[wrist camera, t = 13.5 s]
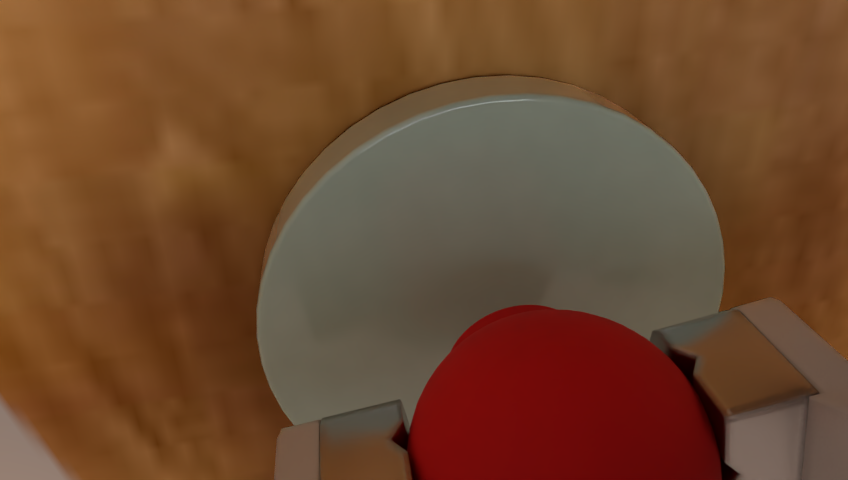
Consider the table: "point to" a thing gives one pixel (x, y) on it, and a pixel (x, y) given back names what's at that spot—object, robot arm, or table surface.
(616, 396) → the strawberry
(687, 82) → the table surface
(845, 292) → the table surface
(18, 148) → the table surface
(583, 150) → the plate
